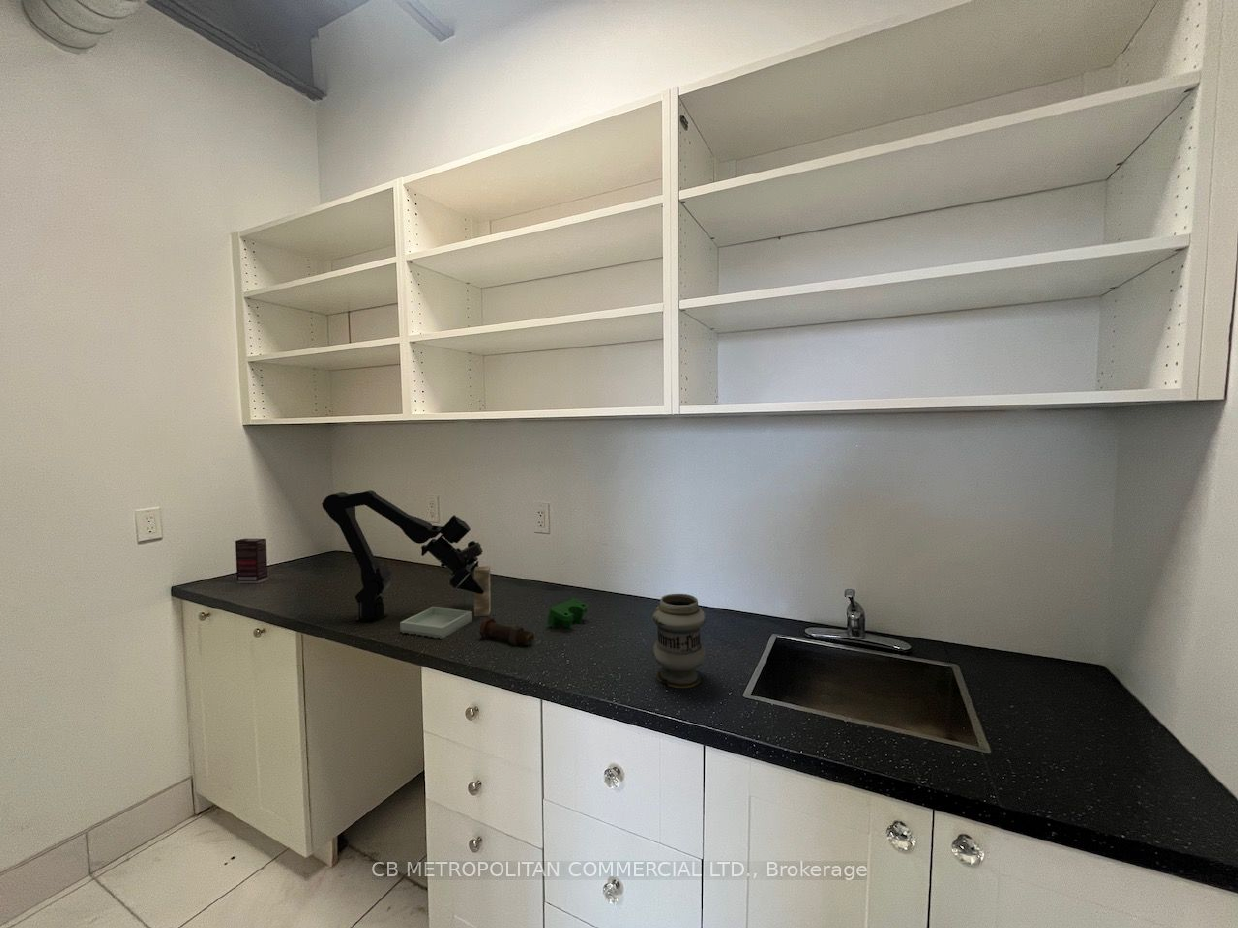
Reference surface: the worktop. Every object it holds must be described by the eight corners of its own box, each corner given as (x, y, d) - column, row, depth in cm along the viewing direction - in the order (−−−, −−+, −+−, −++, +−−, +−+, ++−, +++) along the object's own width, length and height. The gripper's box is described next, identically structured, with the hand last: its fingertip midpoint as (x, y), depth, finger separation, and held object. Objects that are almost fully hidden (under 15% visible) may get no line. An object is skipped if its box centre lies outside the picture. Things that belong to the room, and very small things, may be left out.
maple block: (473, 616, 148) (473, 570, 147) (475, 611, 152) (475, 566, 151) (488, 615, 148) (488, 570, 148) (490, 610, 153) (490, 566, 152)
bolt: (529, 654, 126) (483, 641, 133) (539, 638, 130) (494, 627, 136) (522, 639, 123) (476, 627, 130) (533, 623, 127) (487, 612, 133)
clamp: (564, 644, 138) (562, 621, 134) (548, 634, 141) (545, 612, 137) (590, 617, 147) (589, 595, 142) (575, 609, 150) (573, 587, 145)
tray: (400, 632, 135) (400, 622, 135) (432, 616, 148) (432, 606, 148) (442, 639, 131) (442, 627, 130) (471, 621, 144) (471, 611, 143)
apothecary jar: (641, 678, 109) (641, 599, 109) (671, 660, 118) (672, 587, 118) (686, 697, 101) (687, 612, 101) (715, 676, 111) (717, 597, 110)
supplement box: (268, 579, 185) (266, 538, 185) (258, 583, 180) (256, 540, 180) (246, 579, 186) (244, 538, 185) (235, 583, 181) (234, 540, 180)
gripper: (460, 541, 139) (500, 577, 141) (470, 529, 158) (505, 561, 160) (432, 569, 138) (473, 605, 141) (445, 554, 157) (481, 586, 159)
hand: (484, 588), depth 150 cm, fingers open, 9 cm apart
